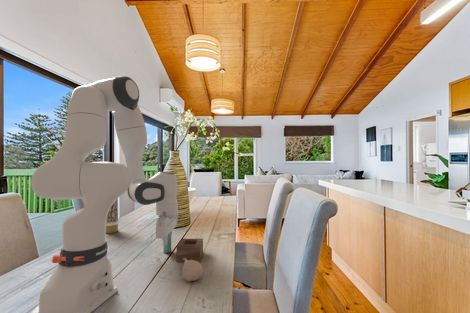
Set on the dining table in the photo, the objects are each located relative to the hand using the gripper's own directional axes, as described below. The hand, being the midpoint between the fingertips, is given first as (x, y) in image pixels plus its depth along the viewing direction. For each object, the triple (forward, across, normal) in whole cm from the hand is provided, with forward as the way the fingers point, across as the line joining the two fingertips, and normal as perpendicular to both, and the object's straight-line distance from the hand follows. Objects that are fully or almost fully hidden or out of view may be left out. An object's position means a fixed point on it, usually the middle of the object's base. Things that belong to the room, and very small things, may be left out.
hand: (167, 242), depth 109 cm
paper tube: (+4, +30, +39) cm, 49 cm away
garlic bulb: (+4, -24, -15) cm, 29 cm away
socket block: (+4, -6, -11) cm, 13 cm away
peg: (+4, 0, 0) cm, 4 cm away
